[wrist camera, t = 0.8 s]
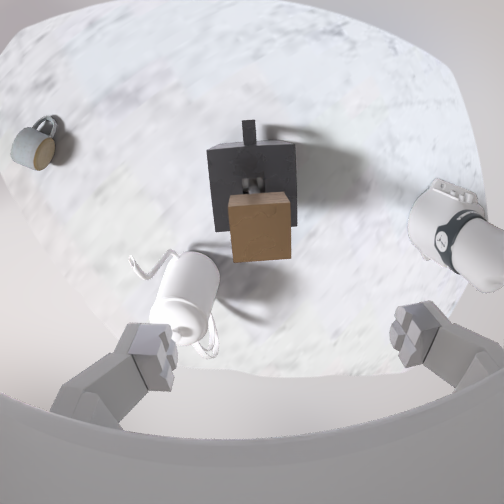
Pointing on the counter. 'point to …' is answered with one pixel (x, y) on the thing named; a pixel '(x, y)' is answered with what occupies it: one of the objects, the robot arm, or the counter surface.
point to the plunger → (259, 223)
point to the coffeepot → (186, 298)
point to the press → (250, 171)
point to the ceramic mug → (34, 146)
